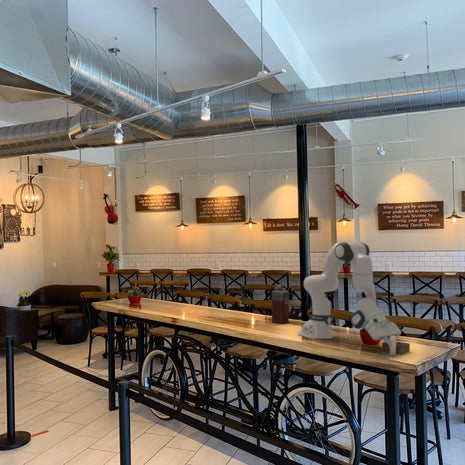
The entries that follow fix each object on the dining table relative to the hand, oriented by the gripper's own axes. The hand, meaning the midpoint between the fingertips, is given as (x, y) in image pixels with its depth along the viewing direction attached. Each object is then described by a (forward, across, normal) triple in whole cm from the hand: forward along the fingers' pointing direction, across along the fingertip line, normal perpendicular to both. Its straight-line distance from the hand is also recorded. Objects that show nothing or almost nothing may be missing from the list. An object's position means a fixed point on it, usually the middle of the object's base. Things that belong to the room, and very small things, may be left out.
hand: (393, 344), depth 236 cm
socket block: (0, -9, -8) cm, 13 cm away
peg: (+4, 0, -5) cm, 6 cm away
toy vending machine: (-69, -9, -79) cm, 105 cm away
